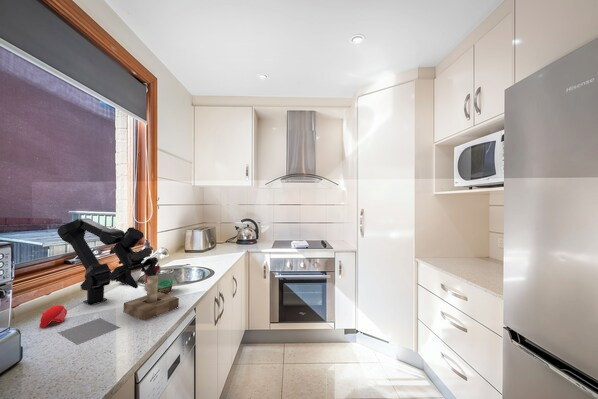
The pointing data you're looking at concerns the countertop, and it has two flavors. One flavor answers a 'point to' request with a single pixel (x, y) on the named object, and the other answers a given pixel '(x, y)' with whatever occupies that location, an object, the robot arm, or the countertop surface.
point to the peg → (152, 289)
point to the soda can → (157, 270)
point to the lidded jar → (136, 274)
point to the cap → (53, 315)
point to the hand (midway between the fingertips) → (146, 283)
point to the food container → (165, 281)
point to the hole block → (151, 306)
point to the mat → (88, 331)
